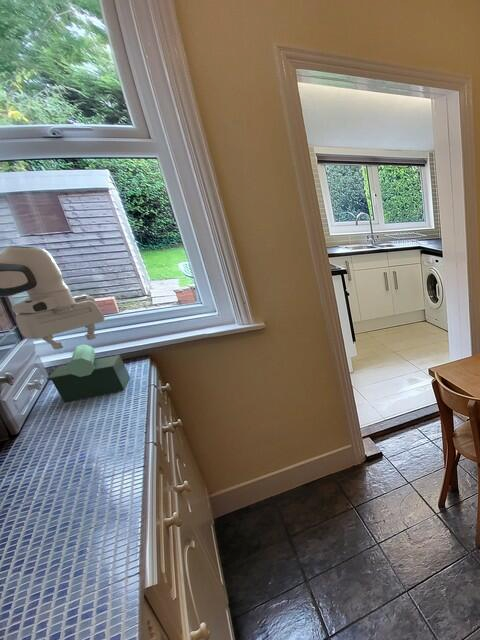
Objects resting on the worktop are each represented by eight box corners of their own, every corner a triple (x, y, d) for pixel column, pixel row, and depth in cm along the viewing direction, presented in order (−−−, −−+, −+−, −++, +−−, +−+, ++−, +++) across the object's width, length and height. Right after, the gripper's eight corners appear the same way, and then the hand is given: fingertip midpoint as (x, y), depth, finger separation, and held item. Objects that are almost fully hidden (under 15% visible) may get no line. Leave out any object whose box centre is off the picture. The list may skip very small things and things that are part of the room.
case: (64, 402, 129) (51, 380, 126) (74, 388, 139) (63, 367, 136) (124, 390, 136) (113, 368, 133) (130, 377, 146) (120, 357, 143)
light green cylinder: (72, 341, 139) (67, 357, 122) (97, 343, 143) (95, 359, 126) (71, 357, 140) (65, 376, 123) (96, 359, 144) (94, 377, 127)
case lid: (47, 380, 125) (46, 378, 125) (60, 367, 136) (58, 365, 135) (113, 368, 133) (112, 366, 133) (120, 356, 143) (119, 354, 143)
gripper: (83, 293, 135) (102, 333, 141) (3, 309, 117) (29, 354, 123) (98, 293, 134) (117, 333, 140) (21, 309, 116) (46, 354, 121)
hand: (75, 343), depth 131 cm, fingers open, 8 cm apart
